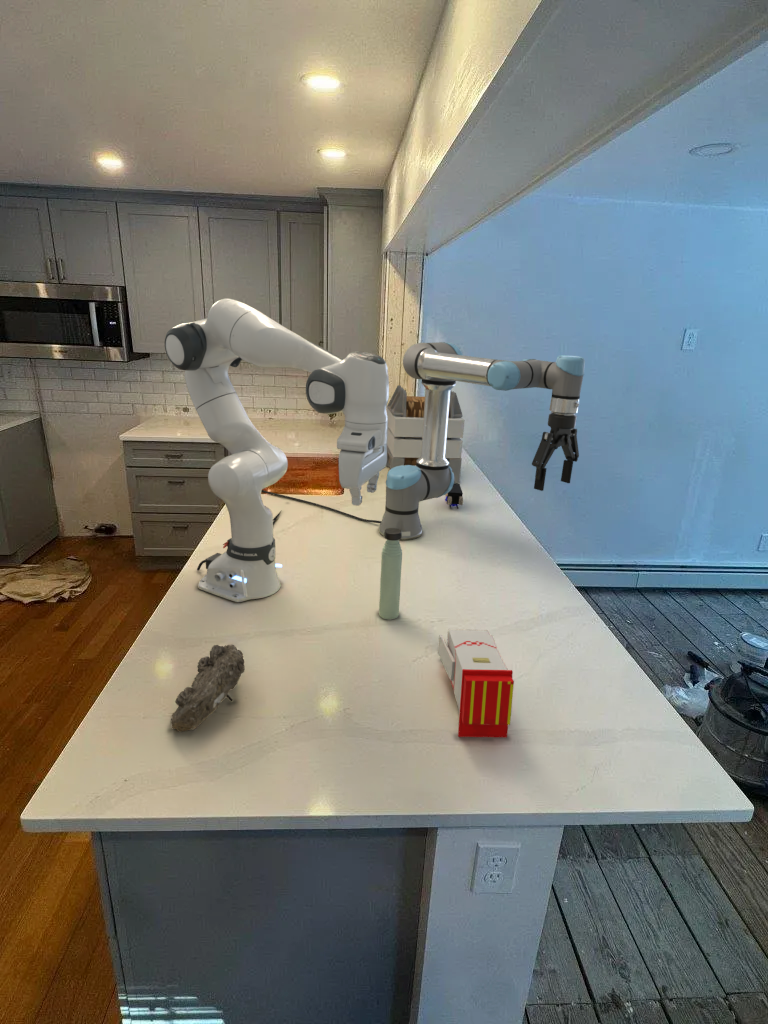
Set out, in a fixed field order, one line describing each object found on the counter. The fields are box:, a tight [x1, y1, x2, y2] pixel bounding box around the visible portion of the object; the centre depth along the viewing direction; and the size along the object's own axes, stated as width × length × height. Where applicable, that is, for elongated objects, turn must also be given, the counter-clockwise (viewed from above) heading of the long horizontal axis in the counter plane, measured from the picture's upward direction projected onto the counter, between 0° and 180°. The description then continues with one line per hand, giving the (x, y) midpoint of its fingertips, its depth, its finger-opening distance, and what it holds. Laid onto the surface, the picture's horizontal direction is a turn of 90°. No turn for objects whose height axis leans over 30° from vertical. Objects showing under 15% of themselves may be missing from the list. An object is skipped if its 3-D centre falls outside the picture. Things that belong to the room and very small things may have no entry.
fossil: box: [170, 644, 246, 733], centre depth 111 cm, size 22×10×15 cm
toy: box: [437, 628, 515, 738], centre depth 117 cm, size 12×13×30 cm
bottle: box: [378, 539, 403, 620], centre depth 143 cm, size 5×5×23 cm
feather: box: [273, 510, 282, 526], centre depth 212 cm, size 2×28×2 cm
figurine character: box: [444, 483, 464, 510], centre depth 231 cm, size 7×8×15 cm
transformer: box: [386, 384, 465, 484], centre depth 268 cm, size 34×33×41 cm
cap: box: [383, 528, 402, 541], centre depth 140 cm, size 4×4×2 cm
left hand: (364, 497), depth 121 cm, fingers open, 8 cm apart
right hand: (552, 485), depth 166 cm, fingers open, 13 cm apart
